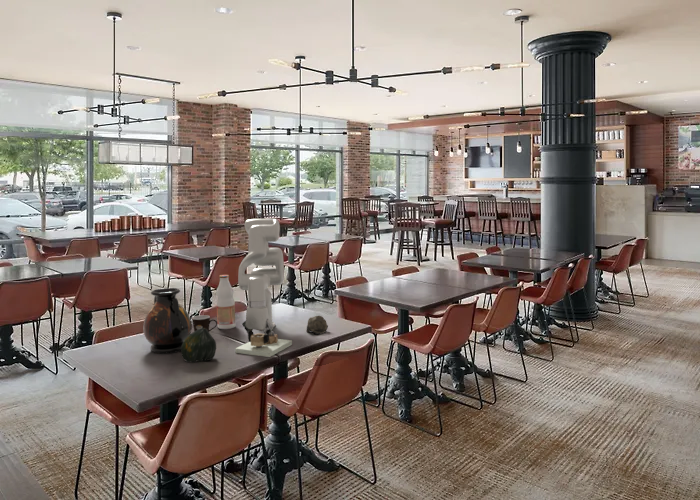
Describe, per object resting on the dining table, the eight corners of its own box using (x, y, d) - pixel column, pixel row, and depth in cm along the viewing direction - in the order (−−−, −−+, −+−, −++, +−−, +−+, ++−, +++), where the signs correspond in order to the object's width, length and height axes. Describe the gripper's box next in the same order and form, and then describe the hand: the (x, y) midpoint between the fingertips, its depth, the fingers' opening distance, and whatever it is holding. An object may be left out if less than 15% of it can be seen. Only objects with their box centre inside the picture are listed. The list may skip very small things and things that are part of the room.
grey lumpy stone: (317, 335, 279) (310, 316, 281) (306, 340, 285) (298, 322, 286) (332, 329, 287) (324, 311, 289) (320, 335, 293) (313, 317, 295)
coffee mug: (189, 338, 280) (188, 318, 279) (201, 333, 288) (200, 314, 286) (207, 340, 275) (206, 320, 273) (219, 336, 282) (218, 316, 281)
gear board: (235, 352, 255) (234, 337, 254) (259, 340, 273) (259, 326, 272) (269, 357, 247) (268, 341, 247) (292, 344, 266) (291, 329, 265)
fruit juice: (222, 330, 293) (220, 277, 290) (214, 327, 300) (211, 275, 297) (238, 327, 299) (236, 275, 296) (230, 323, 306) (228, 273, 303)
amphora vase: (202, 347, 263) (198, 289, 260) (160, 359, 247) (156, 297, 244) (177, 339, 278) (173, 284, 274) (136, 350, 262) (131, 291, 258)
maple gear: (247, 345, 254) (247, 336, 253) (256, 341, 260) (255, 332, 260) (261, 347, 251) (261, 338, 251) (269, 342, 257) (269, 334, 257)
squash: (170, 348, 244) (184, 326, 238) (197, 341, 257) (211, 320, 250) (187, 374, 239) (202, 352, 233) (213, 365, 252) (228, 344, 245)
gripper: (236, 304, 253) (237, 342, 256) (269, 307, 246) (270, 346, 249) (245, 300, 260) (247, 337, 262) (278, 303, 253) (279, 341, 255)
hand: (258, 341), depth 256 cm, fingers closed on maple gear, 7 cm apart
